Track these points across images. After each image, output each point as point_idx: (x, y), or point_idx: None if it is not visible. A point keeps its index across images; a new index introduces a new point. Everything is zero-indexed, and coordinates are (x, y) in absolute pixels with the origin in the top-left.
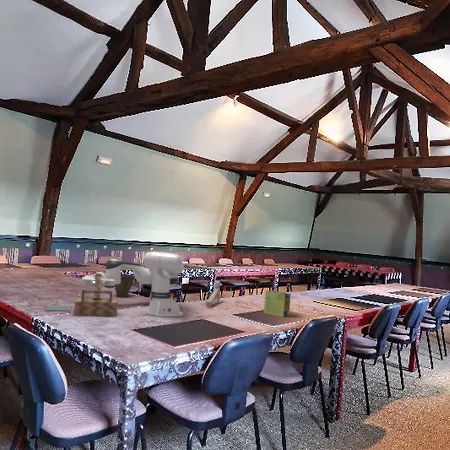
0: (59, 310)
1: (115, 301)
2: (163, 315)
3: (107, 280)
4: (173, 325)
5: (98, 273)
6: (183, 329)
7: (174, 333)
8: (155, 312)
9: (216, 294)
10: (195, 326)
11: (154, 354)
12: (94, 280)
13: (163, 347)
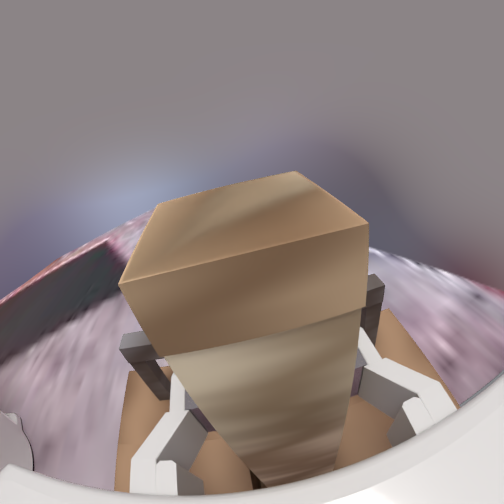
0: (483, 387)
1: (133, 412)
2: (7, 413)
3: (84, 487)
4: (37, 333)
5: (247, 223)
6: (40, 310)
7: (70, 284)
8: (13, 424)
9: None
10: (8, 334)
11: (144, 217)
12: (406, 469)
13: (123, 233)
